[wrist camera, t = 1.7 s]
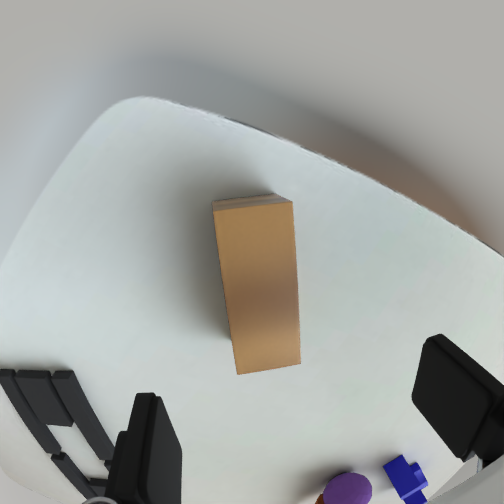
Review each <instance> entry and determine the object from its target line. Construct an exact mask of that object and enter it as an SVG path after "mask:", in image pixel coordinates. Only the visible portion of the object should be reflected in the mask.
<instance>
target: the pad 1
mask: <svg viewBox="0 0 504 504" xmlns="http://www.w3.org/2000/svg"><path fill="white" fill-rule="evenodd" d="M0 384H1V386H2V387H3V389H4V391H5V393H6V394H7V396H8V398H9V399H10V401H11V403H12V404H13V406H14V407H15V409H16V411H17V412H18V414H19V415H20V417H21V418H22V420H23V421H24V423H25V424H26V426H27V427H28V429H29V430H30V432H31V433H32V434H33V436H34V437H35V439H36V440H37V441H38V443H39V444H40V445H41V447H42V448H43V449H44V451H45V452H46V453H50V454H56V455H59V454H60V451H61V446H60V445H59V443H58V442H57V440H56V439H55V438H54V436H53V435H52V433H51V432H50V430H49V429H48V427H47V426H46V424H47V425H57V426H68V427H72V425H73V422H74V421H75V423H76V425H77V426H78V428H79V429H80V431H81V433H82V434H83V436H84V437H85V439H86V440H87V442H88V443H89V445H90V446H91V448H92V449H93V451H94V452H95V453H96V455H97V456H98V458H99V459H100V460H112V457H113V453H114V449H115V447H114V446H113V444H112V442H111V441H110V439H109V437H108V436H107V434H106V432H105V431H104V429H103V427H102V426H101V424H100V422H99V420H98V419H97V417H96V415H95V413H94V411H93V410H92V408H91V406H90V404H89V402H88V400H87V398H86V396H85V394H84V392H83V390H82V388H81V386H80V384H79V382H78V380H77V378H76V376H75V374H74V372H73V371H55V373H54V374H53V376H51V374H50V372H49V371H35V370H19V371H18V372H17V374H16V373H15V371H14V370H11V369H1V370H0Z"/></svg>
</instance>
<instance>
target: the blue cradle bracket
mask: <svg viewBox="0 0 504 504" xmlns="http://www.w3.org/2000/svg"><path fill="white" fill-rule="evenodd" d="M383 468H384V469H385V471H386V473H387V475H388V477H389V478H390V480H391V482H392V484H393V486H394V487H395V489H396V491H397V493H398V495H399V496H400V498H401V500H404V502H405V503H406V504H425V503H427V500H426V498H425V496H424V495H423V493H422V491H421V489H423V488H425V487H426V486H428V482H427V480H426V478H425V476H424V474H423V472H422V470H421V468H420V466H419V465H418V463H417V462H416V463H415V464H413V465H412V466H409V465H408V463H407V462H406V460H405V458H404V457H403V455H401V456H399V457H398V458H396V459H394V460H393V461H391V462H389V463H388V464H386V465H384V466H383Z"/></svg>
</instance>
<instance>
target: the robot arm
mask: <svg viewBox="0 0 504 504" xmlns="http://www.w3.org/2000/svg"><path fill="white" fill-rule="evenodd" d="M412 401H413V403H414V405H415V406H416V407H417V408H418V410H419V411H420V412H421V413H422V415H423V416H424V417H425V418H426V420H427V421H428V422H429V423H430V425H431V426H432V427H433V429H434V430H435V431H436V432H437V434H438V435H439V436H440V437H441V439H442V440H443V441H444V443H445V444H446V445H447V446H448V448H449V449H450V450H451V451H452V453H453V454H454V455H455V456H456V457H457V458H460V459H461V460H462V461H463V463H464V462H466V461H467V460H469V459H470V458H472V457H474V455H475V454H476V455H477V456H478V465H477V474H475V475H474V476H472V477H471V478H469V479H467V480H466V481H464V482H463V483H461V484H460V485H458V486H456V487H454V488H453V489H451V490H450V491H448V492H446V493H444V494H442V495H440V496H438V497H437V498H435V499H433V500H431V501H429V502H427V503H425V504H504V385H503V384H502V383H500V382H499V381H498V380H497V379H496V378H495V377H494V376H492V375H491V374H490V373H489V372H488V371H487V370H485V369H484V368H483V367H482V366H481V365H479V364H478V363H477V362H476V361H475V360H474V359H472V358H471V357H470V356H469V355H468V354H466V353H465V352H464V351H463V350H461V349H460V348H459V347H458V346H457V345H455V344H454V343H453V342H452V341H450V340H449V339H448V338H447V337H445V336H444V335H443V334H437V335H434V336H432V337H429V338H427V340H426V342H425V343H424V344H423V348H422V353H421V358H420V362H419V367H418V371H417V376H416V380H415V384H414V388H413V392H412ZM181 478H182V449H181V446H180V443H179V441H178V438H177V436H176V434H175V431H174V429H173V426H172V424H171V421H170V419H169V416H168V414H167V411H166V409H165V406H164V403H163V401H162V398H161V397H160V396H156V395H155V394H154V393H153V392H152V393H137V394H136V396H135V400H134V404H133V408H132V412H131V416H130V421H129V425H128V429H127V431H120V432H119V434H118V437H117V441H116V445H115V449H114V453H113V457H112V462H111V466H110V470H109V475H108V479H107V484H106V489H105V494H104V497H93V498H90V499H88V500H86V501H85V502H83V503H82V504H181Z"/></svg>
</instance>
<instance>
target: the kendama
mask: <svg viewBox="0 0 504 504" xmlns="http://www.w3.org/2000/svg"><path fill="white" fill-rule="evenodd" d="M371 496H372V486H371V483H370V482H369V480H368V479H367V478H366V477H365V476H363V475H360V474H357V473H344V474H340V475H338V476H336V477H335V478H333V479H332V480H330V481H329V483H328V484H327V486H326V488H325V489H324V491H323V494H320V496H319V497H318V499H317V501H316V503H315V504H368V502H369V501H370V499H371Z"/></svg>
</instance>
